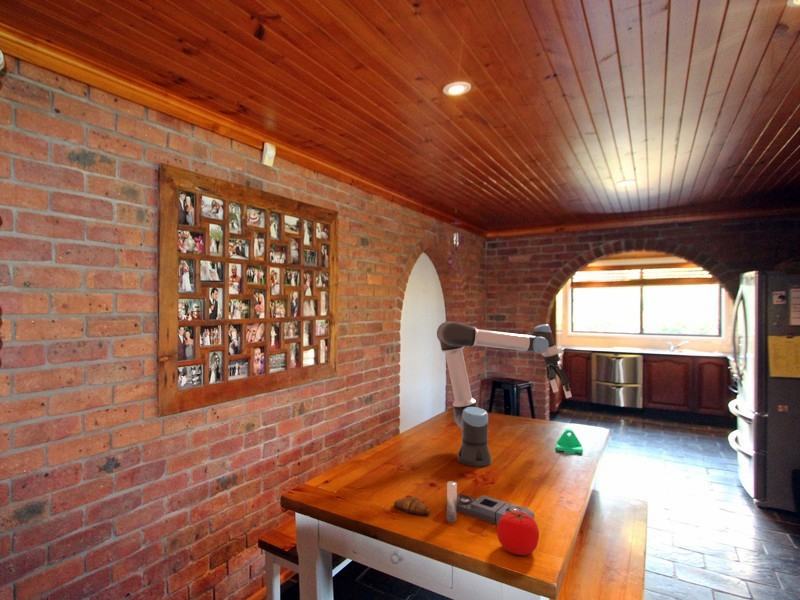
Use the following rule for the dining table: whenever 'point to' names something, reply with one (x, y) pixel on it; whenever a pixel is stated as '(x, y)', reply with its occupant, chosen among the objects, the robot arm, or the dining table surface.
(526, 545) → the tomato
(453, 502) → the steel pin
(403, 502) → the croissant
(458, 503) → the chain end
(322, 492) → the dining table surface
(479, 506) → the chain end
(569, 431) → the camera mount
